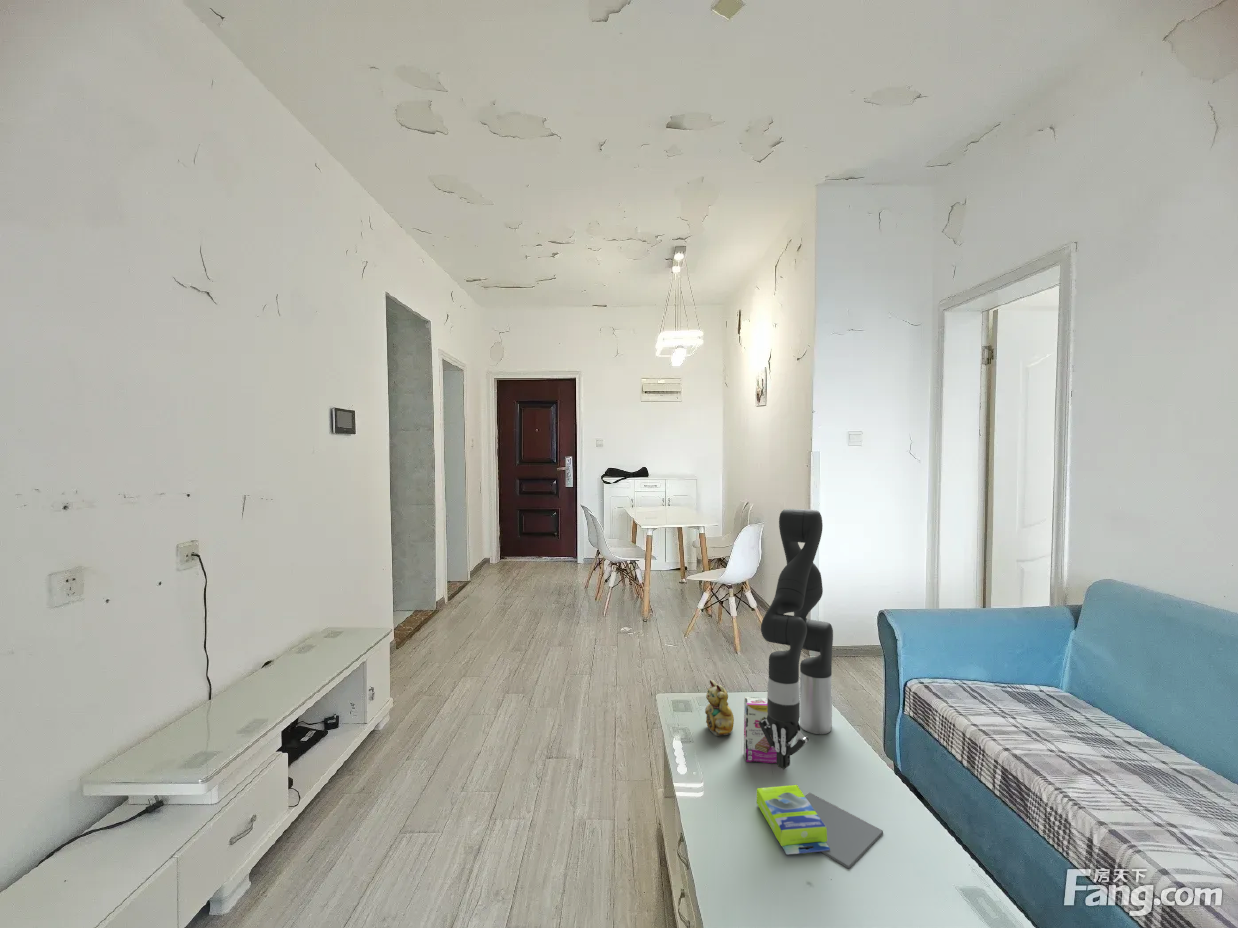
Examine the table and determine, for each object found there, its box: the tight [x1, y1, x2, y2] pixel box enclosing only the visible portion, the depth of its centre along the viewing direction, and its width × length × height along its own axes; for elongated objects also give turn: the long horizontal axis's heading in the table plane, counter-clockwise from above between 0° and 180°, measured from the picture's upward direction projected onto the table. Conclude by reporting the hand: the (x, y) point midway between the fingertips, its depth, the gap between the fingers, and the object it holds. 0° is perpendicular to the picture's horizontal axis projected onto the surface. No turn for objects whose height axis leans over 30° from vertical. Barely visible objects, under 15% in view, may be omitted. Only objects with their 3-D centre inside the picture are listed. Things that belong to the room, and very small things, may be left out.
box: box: [756, 784, 830, 856], centre depth 123 cm, size 10×4×17 cm
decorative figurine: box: [704, 679, 735, 737], centre depth 166 cm, size 10×8×15 cm
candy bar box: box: [743, 696, 778, 765], centre depth 151 cm, size 11×5×16 cm, turn 84°
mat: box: [804, 792, 884, 869], centre depth 123 cm, size 16×18×1 cm
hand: (783, 766), depth 132 cm, fingers closed
